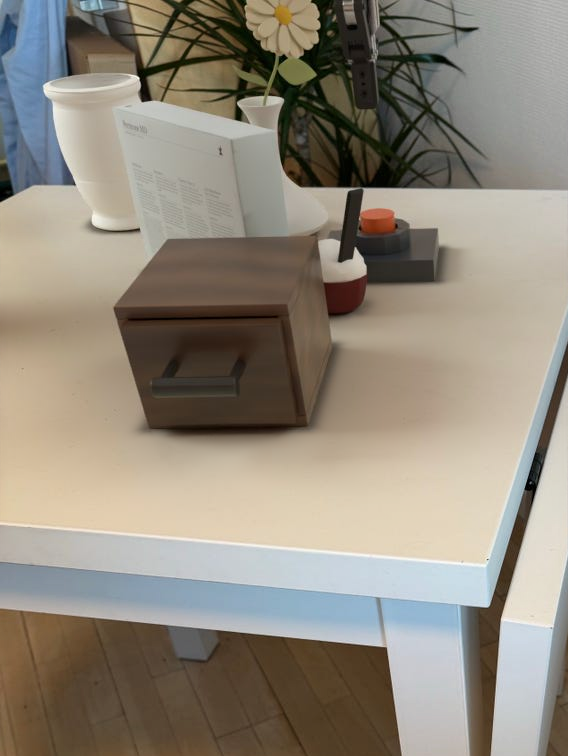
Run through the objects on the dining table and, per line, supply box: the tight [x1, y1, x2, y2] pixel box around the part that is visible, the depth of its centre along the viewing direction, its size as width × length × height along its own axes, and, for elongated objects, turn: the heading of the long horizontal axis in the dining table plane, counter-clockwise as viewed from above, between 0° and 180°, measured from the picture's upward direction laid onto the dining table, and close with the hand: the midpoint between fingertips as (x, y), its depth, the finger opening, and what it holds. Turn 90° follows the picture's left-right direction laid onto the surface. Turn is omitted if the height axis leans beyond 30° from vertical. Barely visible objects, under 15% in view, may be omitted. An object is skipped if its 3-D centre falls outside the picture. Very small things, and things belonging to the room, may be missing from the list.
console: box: [326, 217, 440, 284], centre depth 97 cm, size 12×10×4 cm
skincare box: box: [112, 100, 289, 264], centre depth 89 cm, size 21×6×16 cm, turn 45°
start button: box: [359, 207, 396, 234], centre depth 95 cm, size 4×4×2 cm
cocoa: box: [318, 187, 368, 315], centre depth 85 cm, size 10×6×12 cm, turn 17°
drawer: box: [118, 316, 298, 426], centre depth 71 cm, size 18×12×8 cm, turn 179°
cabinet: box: [112, 235, 333, 429], centre depth 74 cm, size 15×13×10 cm
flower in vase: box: [231, 0, 330, 236], centre depth 98 cm, size 13×11×25 cm
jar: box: [42, 72, 142, 232], centre depth 107 cm, size 11×10×15 cm
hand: (367, 107), depth 88 cm, fingers closed
